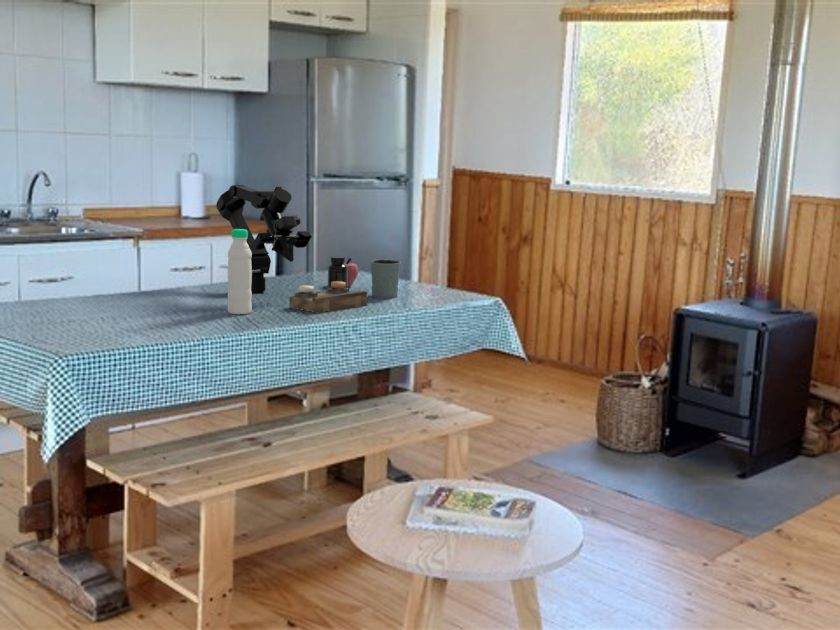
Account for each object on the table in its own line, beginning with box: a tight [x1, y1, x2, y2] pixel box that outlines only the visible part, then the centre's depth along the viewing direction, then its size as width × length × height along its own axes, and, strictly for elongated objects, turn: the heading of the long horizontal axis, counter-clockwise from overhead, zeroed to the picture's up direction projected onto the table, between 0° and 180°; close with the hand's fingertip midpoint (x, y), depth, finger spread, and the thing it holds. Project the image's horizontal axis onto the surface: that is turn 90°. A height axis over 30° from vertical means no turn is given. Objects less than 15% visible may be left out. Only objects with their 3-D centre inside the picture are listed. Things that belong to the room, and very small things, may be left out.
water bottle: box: [227, 228, 253, 316], centre depth 292 cm, size 7×7×25 cm
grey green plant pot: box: [370, 258, 402, 300], centre depth 331 cm, size 10×10×12 cm
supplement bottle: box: [327, 256, 349, 289], centre depth 337 cm, size 7×7×12 cm
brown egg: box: [331, 281, 346, 289], centre depth 316 cm, size 5×5×6 cm
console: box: [288, 287, 368, 313], centre depth 309 cm, size 12×22×5 cm, turn 140°
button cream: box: [298, 284, 315, 294], centre depth 305 cm, size 5×5×6 cm
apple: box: [344, 257, 360, 287], centre depth 349 cm, size 10×9×10 cm
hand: (291, 260), depth 310 cm, fingers closed
